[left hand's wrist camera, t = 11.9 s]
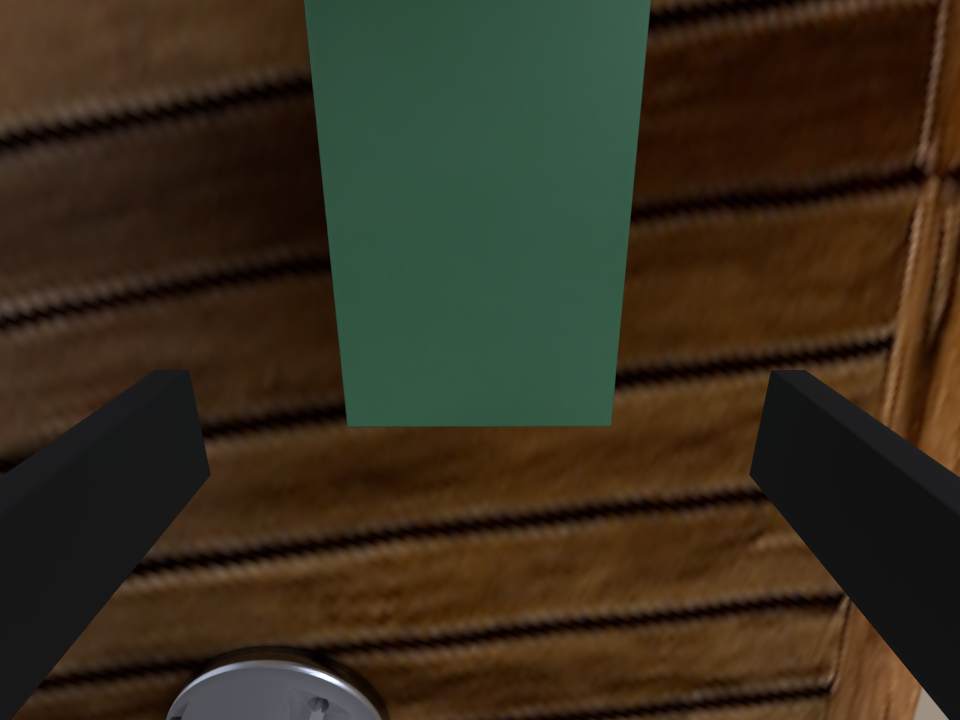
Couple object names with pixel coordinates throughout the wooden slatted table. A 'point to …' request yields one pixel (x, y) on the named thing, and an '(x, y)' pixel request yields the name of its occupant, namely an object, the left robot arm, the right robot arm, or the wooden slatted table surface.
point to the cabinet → (478, 203)
